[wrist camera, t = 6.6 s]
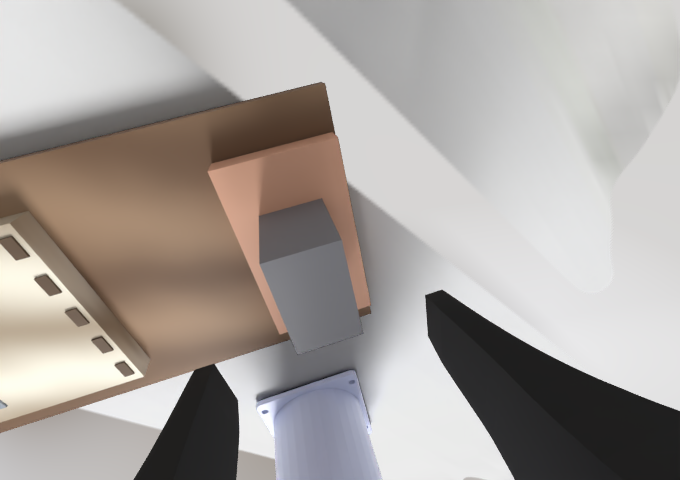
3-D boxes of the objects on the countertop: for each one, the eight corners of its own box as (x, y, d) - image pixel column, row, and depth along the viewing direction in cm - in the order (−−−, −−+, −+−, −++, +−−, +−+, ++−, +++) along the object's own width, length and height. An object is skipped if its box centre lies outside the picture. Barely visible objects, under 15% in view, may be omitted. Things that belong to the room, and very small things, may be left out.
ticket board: (366, 303, 22) (377, 327, 20) (-17, 425, 19) (-48, 466, 17) (321, 82, 14) (331, 85, 12) (-310, 237, 12) (-421, 271, 10)
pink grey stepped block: (365, 292, 20) (396, 359, 15) (278, 319, 19) (284, 397, 15) (332, 131, 14) (365, 163, 10) (211, 163, 14) (190, 211, 9)
